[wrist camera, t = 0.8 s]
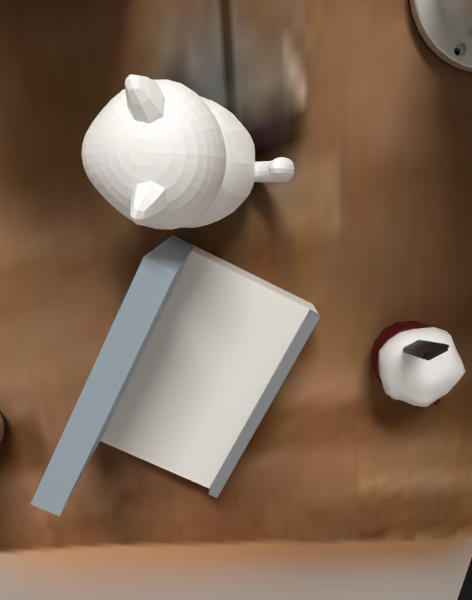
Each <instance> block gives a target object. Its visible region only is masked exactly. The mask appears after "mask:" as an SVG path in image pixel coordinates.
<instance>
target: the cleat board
mask: <svg viewBox="0 0 472 600" xmlns="http://www.w3.org/2000/svg"><path fill="white" fill-rule="evenodd" d="M319 318H320V315H319V313H318V312H317V310H316V309H315V307H314V306H313V304H311V303H309V302H307V301H305V300H303V299H301V298H299V297H297V296H295V295H293V294H291V293H289V292H287V291H285V290H283V289H281V288H279V287H277V286H275V285H273V284H271V283H269V282H267V281H265V280H263V279H261V278H259V277H257V276H255V275H253V274H251V273H249V272H247V271H245V270H243V269H241V268H239V267H237V266H235V265H233V264H231V263H229V262H227V261H225V260H223V259H221V258H219V257H217V256H215V255H213V254H211V253H209V252H207V251H205V250H203V249H201V248H199V247H197V246H195V245H192V244H190V243H188V242H186V241H184V240H182V239H180V238H178V237H176V236H174V235H172V236H171V237H169V238H168V239H167V240H165V241H164V242H163V243H161V244H160V245H159V246H157V247H156V248H155V249H153V250H152V251H151V252H149V253H148V254H146V255H145V256H144V257H143V259H142V262H141V264H140V266H139V268H138V270H137V272H136V275H135V277H134V279H133V281H132V283H131V286H130V288H129V290H128V292H127V294H126V297H125V299H124V301H123V303H122V305H121V308H120V310H119V312H118V314H117V316H116V318H115V321H114V323H113V325H112V327H111V329H110V332H109V334H108V336H107V338H106V340H105V343H104V345H103V347H102V349H101V351H100V353H99V356H98V358H97V360H96V362H95V364H94V367H93V369H92V371H91V373H90V375H89V378H88V380H87V382H86V384H85V386H84V389H83V391H82V393H81V395H80V397H79V399H78V402H77V404H76V406H75V408H74V410H73V413H72V415H71V417H70V419H69V421H68V424H67V426H66V428H65V430H64V432H63V434H62V437H61V439H60V441H59V443H58V445H57V448H56V450H55V452H54V454H53V456H52V459H51V461H50V463H49V465H48V467H47V470H46V472H45V474H44V476H43V478H42V480H41V483H40V485H39V487H38V489H37V491H36V494H35V496H34V498H33V500H32V502H31V505H33V506H36V507H38V508H41V509H43V510H45V511H48V512H50V513H53V514H55V515H58V516H60V515H61V513H62V511H63V509H64V507H65V505H66V504H67V502H68V500H69V498H70V496H71V494H72V492H73V491H74V489H75V487H76V485H77V483H78V481H79V479H80V478H81V476H82V474H83V472H84V470H85V468H86V466H87V465H88V463H89V461H90V459H91V457H92V455H93V453H94V452H95V450H96V448H97V446H98V444H99V442H100V441H101V442H104V443H106V444H108V445H111V446H113V447H115V448H117V449H120V450H122V451H124V452H127V453H129V454H131V455H133V456H136V457H138V458H140V459H143V460H145V461H147V462H150V463H152V464H154V465H156V466H159V467H161V468H163V469H166V470H168V471H170V472H173V473H175V474H177V475H179V476H182V477H184V478H186V479H189V480H191V481H193V482H195V483H198V484H200V485H202V486H205V487H207V488H209V495H211V496H213V497H215V498H217V497H218V495H219V494H220V492H221V490H222V488H223V487H224V485H225V483H226V481H227V480H228V478H229V476H230V474H231V473H232V471H233V469H234V467H235V466H236V464H237V462H238V460H239V459H240V457H241V455H242V453H243V452H244V450H245V448H246V446H247V445H248V443H249V441H250V439H251V438H252V436H253V434H254V432H255V431H256V429H257V427H258V425H259V424H260V422H261V420H262V418H263V417H264V415H265V413H266V411H267V410H268V408H269V406H270V404H271V403H272V401H273V399H274V397H275V396H276V394H277V392H278V390H279V389H280V387H281V385H282V383H283V381H284V380H285V378H286V376H287V374H288V373H289V371H290V369H291V367H292V366H293V364H294V362H295V360H296V359H297V357H298V355H299V353H300V352H301V350H302V348H303V346H304V345H305V343H306V341H307V339H308V338H309V336H310V334H311V332H312V331H313V329H314V327H315V325H316V324H317V322H318V320H319Z"/></svg>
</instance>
